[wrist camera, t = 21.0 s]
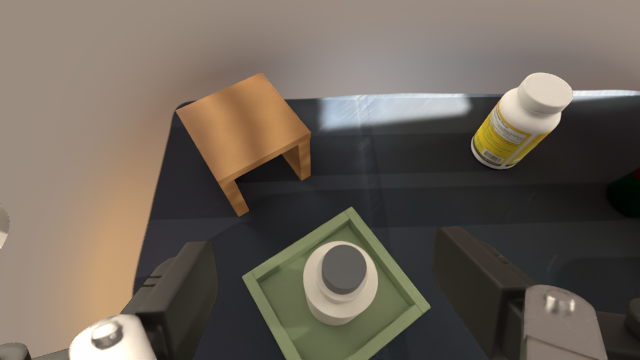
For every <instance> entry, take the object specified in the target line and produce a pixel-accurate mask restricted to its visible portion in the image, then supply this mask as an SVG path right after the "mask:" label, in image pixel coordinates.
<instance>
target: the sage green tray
mask: <svg viewBox="0 0 640 360" xmlns="http://www.w3.org/2000/svg"><path fill="white" fill-rule="evenodd" d="M335 241H343V242H349V243H352V244H354V245H356V246H358V247H360V248H361V249H363V250H364V251H365V252H366V253H367V254H368V255H369V257H370V258H371V260H372V261H373V263H374V265H375V268H376V271H377V277H378V286H377V291H376V294H375V297H374V299H373V301H372V302H371V304H370V305H369V306H368V307H367V308H366V309H365V310H364V311H363V312H361V313H360V314H359V315H357V316H356V317H355V318H353V319H352V320H351V321H349V322H348V323H346V324H343V325H339V326H331V325H326V324H324V323H322V322H320V321H319V320H318V319H316V318H315V317H314V315H313V314H312V313H311V311H310V309H309V307H308V303H307V299H306V294H305V289H304V283H303V274H304V269H305V265H306V263H307V261H308V259H309V257H310V256H311V255H312V253H313V252H314V251H315V250H316V249H318V248H319V247H321V246H322V245H324V244H327V243H330V242H335ZM242 278H243V280H244V282H245V284H246V286H247V288H248V289H249V291H250V293H251V295H252V297H253V299H254V301H255V302H256V304H257V306H258V308H259V310H260V312H261V314H262V315H263V317H264V319H265V321H266V323H267V325H268V326H269V328H270V330H271V332H272V334H273V336H274V338H275V339H276V341H277V343H278V345H279V347H280V349H281V351H282V352H283V354H284V356H285V358H286V360H368V359H369V358H370V357H372V356H373V355H374V354H375V353H376V352H378V351H379V350H380V349H381V348H382V347H384V346H385V345H386V344H387V343H389V342H390V341H391V340H392V339H393V338H395V337H396V336H397V335H398V334H399V333H401V332H402V331H403V330H404V329H405V328H407V327H408V326H409V325H410V324H411V323H413V322H414V321H415V320H416V319H417V318H419V317H420V316H421V315H422V314H423V313H425V312H426V311H427V310H428V309H429V308H430V305H429V304H428V303H427V302H426V300H425V299H424V298H423V296H422V295H421V294H420V293H419V291H418V290H417V289H416V288H415V286H414V285H413V284H412V283H411V281H410V280H409V279H408V277H407V276H406V275H405V274H404V272H403V271H402V270H401V269H400V267H399V266H398V265H397V263H396V262H395V261H394V260H393V258H392V257H391V256H390V255H389V253H388V252H387V251H386V249H385V248H384V247H383V246H382V244H381V243H380V242H379V241H378V239H377V238H376V237H375V236H374V234H373V233H372V232H371V230H370V229H369V228H368V227H367V225H366V224H365V223H364V222H363V220H362V219H361V218H360V216H359V215H358V214H357V213H356V211H355V210H354V209H353V208H352V207H350V208H348V209H347V210H345V211H344V212H342V213H340V214H339V215H337V216H336V217H334V218H333V219H331V220H330V221H328V222H326V223H325V224H323V225H322V226H320V227H319V228H317V229H316V230H314V231H312V232H311V233H309V234H308V235H306V236H305V237H303V238H302V239H300V240H298V241H297V242H295V243H294V244H292V245H291V246H289V247H287V248H286V249H284V250H283V251H281V252H280V253H278V254H277V255H275V256H273V257H272V258H270V259H269V260H267V261H266V262H264V263H263V264H261V265H259V266H258V267H256V268H255V269H253V270H252V271H250V272H249V273H247V274H245V275H244V276H242Z"/></svg>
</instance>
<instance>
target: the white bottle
mask: <svg viewBox="0 0 640 360" xmlns="http://www.w3.org/2000/svg"><path fill="white" fill-rule="evenodd" d="M303 283H304V289H305V294H306V299H307V303H308V307H309V309H310V311H311V313H312V314H313V315H314V317H315V318H316V319H318V320H319V321H320V322H322V323H324V324H326V325H331V326H339V325H343V324H346V323H348V322H349V321H351V320H352V319H353V318H355V317H356V316H357V315H359V314H360V313H361V312H363V311H364V310H365V309H366V308H367V307H368V306H369V305H370V304H371V302H372V301H373V299H374V297H375V294H376V291H377V286H378V277H377V271H376V268H375V265H374V263H373V261H372V260H371V258H370V257H369V255H368V254H367V253H366V252H365V251H364V250H363V249H361V248H360V247H358V246H356V245H354V244H352V243H349V242H343V241H335V242H330V243H327V244H324V245H322V246H321V247H319V248H318V249H316V250H315V251H314V252H313V253H312V255H311V256H310V257H309V259H308V261H307V263H306V265H305V269H304V274H303Z"/></svg>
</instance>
